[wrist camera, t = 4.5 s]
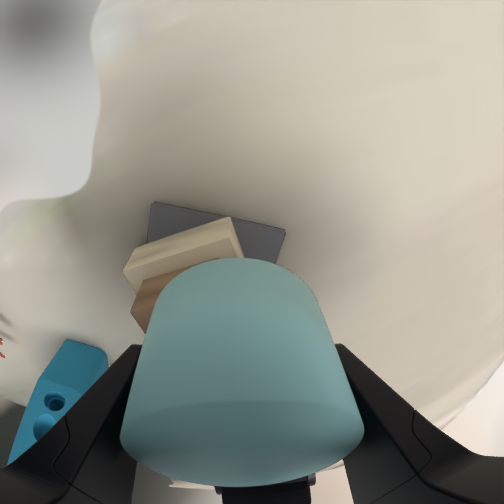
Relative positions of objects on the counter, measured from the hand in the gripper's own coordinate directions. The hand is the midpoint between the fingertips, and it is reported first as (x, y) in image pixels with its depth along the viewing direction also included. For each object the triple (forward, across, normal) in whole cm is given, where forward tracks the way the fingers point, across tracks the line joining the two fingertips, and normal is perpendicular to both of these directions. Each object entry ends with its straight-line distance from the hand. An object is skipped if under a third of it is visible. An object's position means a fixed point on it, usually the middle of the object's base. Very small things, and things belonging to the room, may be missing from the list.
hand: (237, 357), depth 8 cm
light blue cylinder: (+1, 0, 0) cm, 1 cm away
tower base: (+12, +2, +4) cm, 13 cm away
